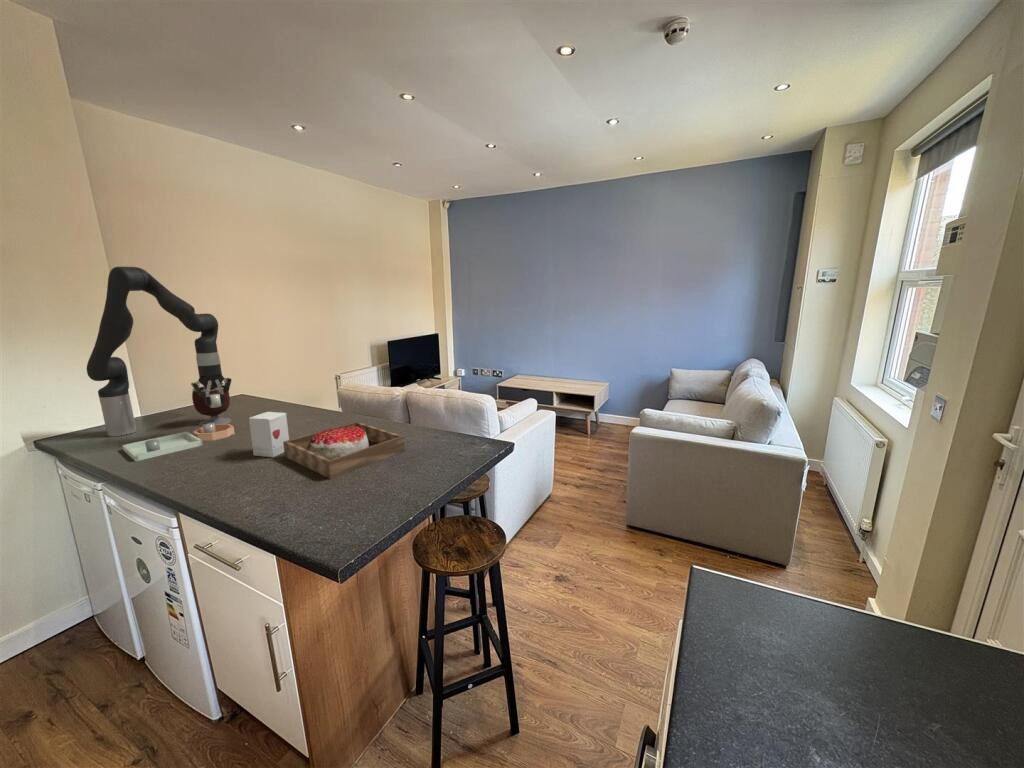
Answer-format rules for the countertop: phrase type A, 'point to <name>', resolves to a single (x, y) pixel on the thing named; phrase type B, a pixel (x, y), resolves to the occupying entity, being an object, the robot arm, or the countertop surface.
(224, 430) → the bowl
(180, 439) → the tray
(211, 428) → the pebble
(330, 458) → the cake
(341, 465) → the wooden tray
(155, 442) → the grey rounded knob
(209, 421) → the mate gourd
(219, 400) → the pebble
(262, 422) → the supplement box
